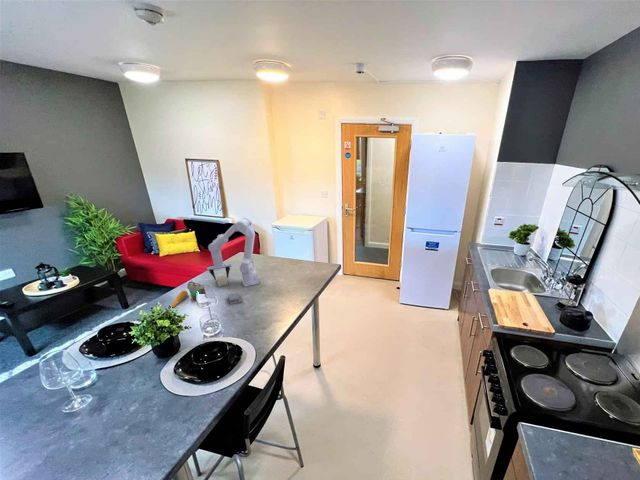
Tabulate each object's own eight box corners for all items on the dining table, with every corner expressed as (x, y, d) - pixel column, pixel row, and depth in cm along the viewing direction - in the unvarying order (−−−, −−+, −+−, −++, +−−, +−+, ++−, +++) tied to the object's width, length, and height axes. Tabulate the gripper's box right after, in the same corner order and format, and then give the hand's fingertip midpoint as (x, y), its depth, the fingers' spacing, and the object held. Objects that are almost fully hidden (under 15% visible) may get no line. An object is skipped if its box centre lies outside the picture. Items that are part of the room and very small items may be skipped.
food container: (185, 298, 176) (181, 284, 172) (195, 294, 181) (191, 280, 177) (198, 303, 171) (194, 288, 166) (207, 299, 176) (204, 284, 171)
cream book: (224, 276, 200) (224, 273, 199) (226, 280, 193) (225, 277, 192) (217, 277, 197) (216, 274, 196) (218, 282, 191) (217, 279, 190)
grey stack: (238, 295, 180) (238, 292, 179) (241, 302, 174) (240, 298, 173) (228, 298, 178) (228, 294, 177) (230, 304, 171) (230, 300, 170)
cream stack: (226, 279, 201) (225, 276, 200) (227, 284, 194) (227, 280, 193) (217, 281, 199) (216, 277, 197) (218, 286, 192) (217, 282, 191)
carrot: (184, 296, 180) (179, 290, 178) (190, 293, 179) (185, 288, 177) (166, 316, 163) (161, 310, 160) (173, 313, 162) (167, 307, 160)
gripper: (205, 263, 183) (210, 282, 189) (230, 260, 190) (233, 278, 195) (205, 260, 188) (209, 278, 194) (229, 256, 195) (232, 274, 201)
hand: (221, 278), depth 195 cm, fingers open, 7 cm apart
